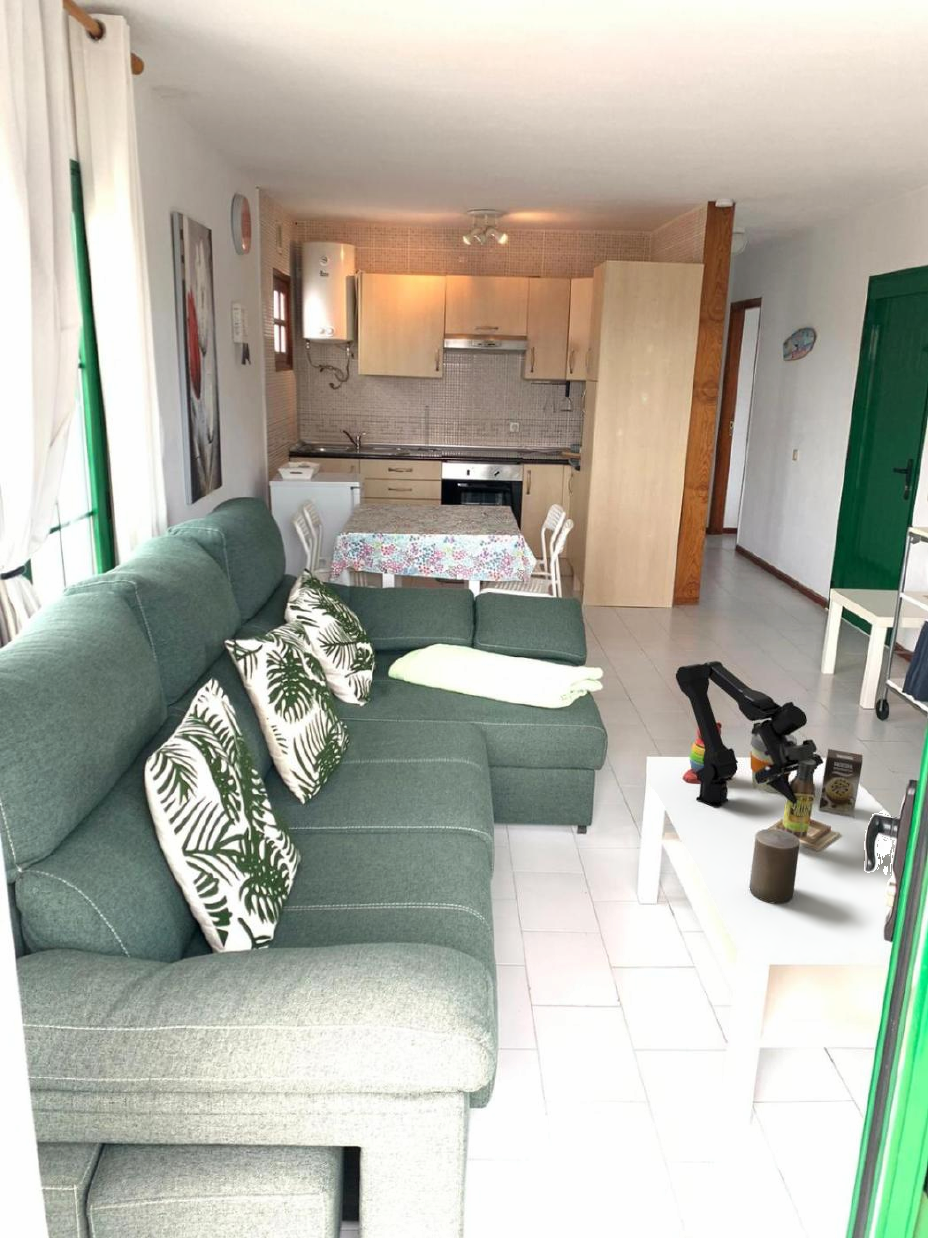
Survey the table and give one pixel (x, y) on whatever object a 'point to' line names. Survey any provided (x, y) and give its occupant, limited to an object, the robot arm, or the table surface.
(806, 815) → the sauce bottle
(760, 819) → the table surface
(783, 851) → the pillar candle
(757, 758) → the reusable coffee cup
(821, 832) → the cradle
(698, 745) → the stacking bear
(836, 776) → the cookie box
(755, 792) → the table surface
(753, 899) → the table surface
